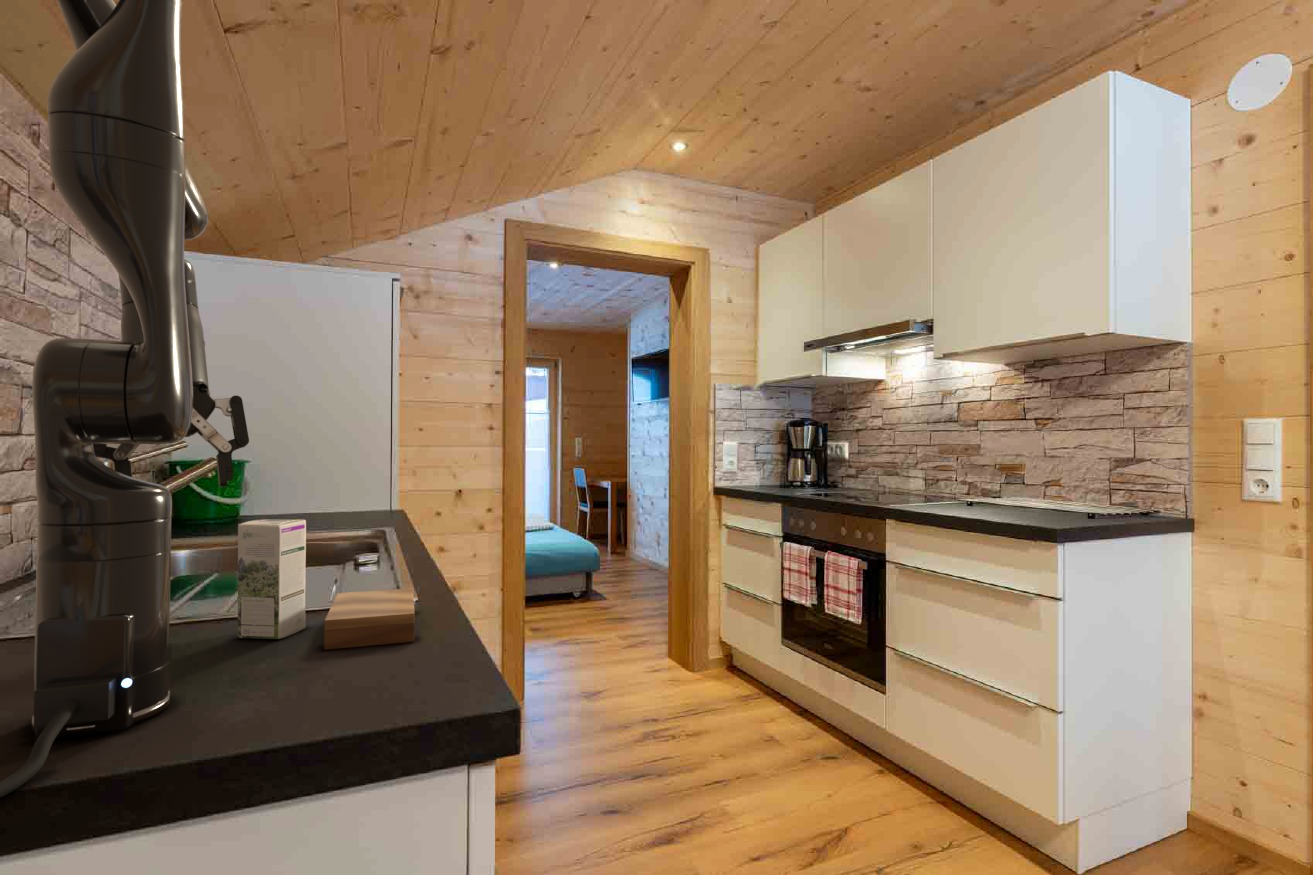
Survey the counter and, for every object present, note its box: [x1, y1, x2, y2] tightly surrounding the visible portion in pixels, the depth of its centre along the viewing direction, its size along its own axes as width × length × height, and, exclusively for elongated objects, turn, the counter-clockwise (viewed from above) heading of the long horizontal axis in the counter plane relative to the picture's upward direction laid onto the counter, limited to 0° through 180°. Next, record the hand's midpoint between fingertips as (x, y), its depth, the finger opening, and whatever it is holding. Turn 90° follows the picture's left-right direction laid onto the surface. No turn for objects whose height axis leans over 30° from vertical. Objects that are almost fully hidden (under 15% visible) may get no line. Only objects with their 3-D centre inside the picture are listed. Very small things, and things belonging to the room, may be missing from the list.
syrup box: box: [237, 518, 307, 640], centre depth 86 cm, size 6×6×14 cm
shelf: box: [323, 587, 416, 651], centre depth 88 cm, size 16×10×4 cm, turn 21°
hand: (178, 490), depth 75 cm, fingers open, 8 cm apart
